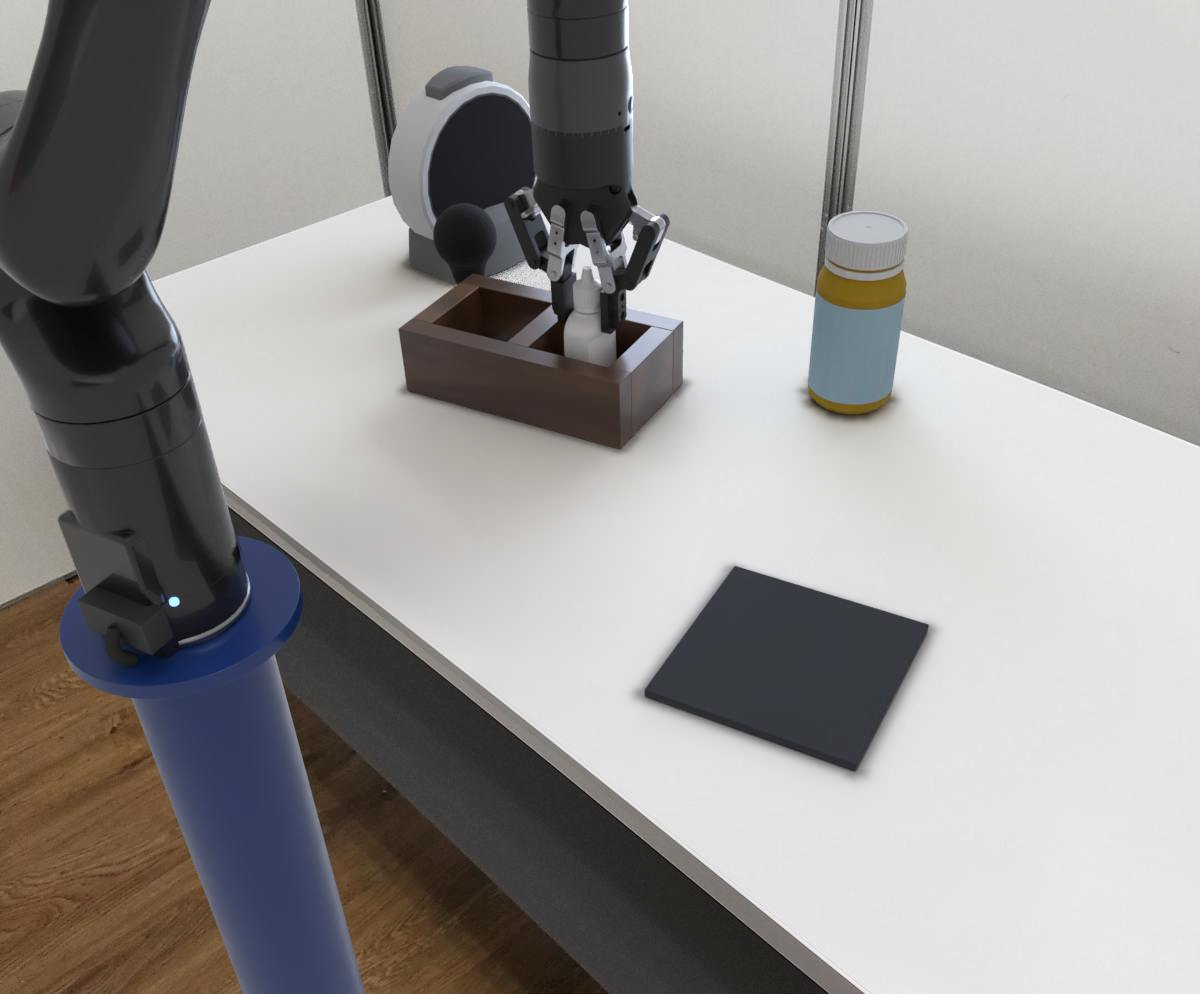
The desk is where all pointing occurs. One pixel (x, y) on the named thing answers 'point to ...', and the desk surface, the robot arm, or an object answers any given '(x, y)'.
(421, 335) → the holder
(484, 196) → the alarm clock
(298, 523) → the desk surface
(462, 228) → the light bulb
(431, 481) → the desk surface
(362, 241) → the desk surface
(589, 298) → the eye dropper bottle
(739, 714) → the mat
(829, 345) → the bottle
